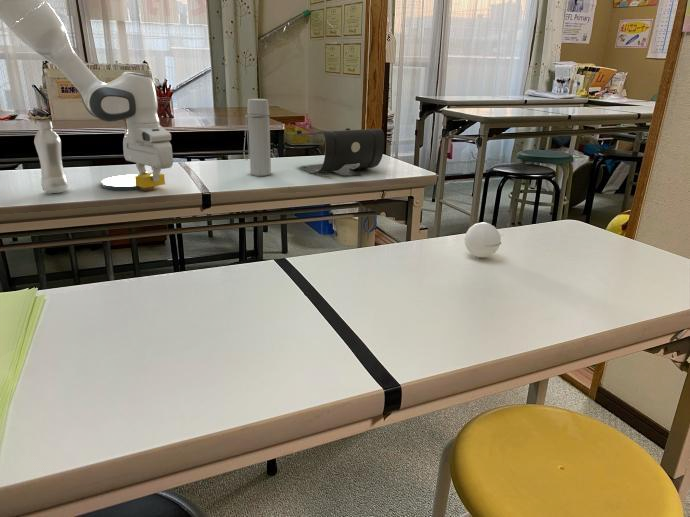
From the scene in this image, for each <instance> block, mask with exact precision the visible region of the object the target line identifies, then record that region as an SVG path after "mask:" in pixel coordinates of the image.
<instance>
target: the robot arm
mask: <svg viewBox="0 0 690 517" xmlns="http://www.w3.org/2000/svg"><path fill="white" fill-rule="evenodd" d="M0 20H1V21H2V22H3V23H4V25H6V26H7V27H8V28H9V30H10V31H11V32H12V33H13V34H14V35H15V36H16V37H17V38H18V39H19V40H20V41H22V42H23V43H24V44H25V45H26V46H27V47H28V48H30V49H31V50H32V51H34V52H35V53H37V54H38V55H40V56H42V57H43V58H44V59H46V60H48V61H49V62H50V63H51V64H53V66H55V67H56V68H57V70H59V71H60V72H61V74H62V75H63V76H64V77H65V79H67V80H68V82H69V83H70V84H71V85H72V86H73V87H74V88H75V89H76V91H77V92H78V94H79V96H80V98H81V100H82V103H83V106H84V108H85V110H86V111H87V112H88V113H89V114H90V115H91V116H92V117H94V118H96V119H99V121H103V122H106V123H115V122H118V121H122V120H126V127H127V128H126V130H125V132H124V137H123V139H122V150H123V152H122V153H123V157H124V159H125V161H126V162H130V163H135V166H136V169H137V171H138V172H139V175H141V174H148V171H147V170H146V167H145V166H147V167H151V168H150V169H151V171H152V172H151V173H152V175H151V180H152V181H154V182H156V181H159V174H160V172H161V170H165V169H171V168H172V167H173V164H174V156H173V155H174V154H173V147H172V144H171V140H172V134H171V133H170V131H168V130H167V129H165V128H164V127H163V126H162V125H161V123H160V122H161V121H160V118H159V116H158V107H159V104H158V103H159V102H158V96H157V90H156V85H155V82H154V80H153V79H152V78H151V77H150V76H149V75H147V74H143V73H139V72H132V71H124V72H123V73H122V74H121V75H120V76H118V77H117V78H115V79H113V80H111V81H109V82H104V81H102V80H101V79H99V78H98V77H97V76H96V75H95V74H94V73H93V72H92V71H91V70H90V68H89V67H88V66H87V65H86V63H85V62H84V61H83V60H82V59H81V58H80V57H79V55H78V54H77V53H76V52H75V50H74V48H73V47H72V45H71V42H70V39H69V36H68V33H67V32H68V31H67V29H66V27H65V25H64V23H63V22H62V20H61V19H60V17H59V16H58V14H57V12H55V9H53V8H52V6H51V5H50V4H49V2H48V1H47V0H0Z"/></svg>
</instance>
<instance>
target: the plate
mask: <svg viewBox="0 0 690 517" xmlns="http://www.w3.org/2000/svg"><path fill="white" fill-rule="evenodd" d="M135 175H136V174H125V175H117V176H112V177H107V178H104V179H103V180H101V187H102V188H104V189H106V190H112V191H134V190H140V188H139V186H136V184H135Z"/></svg>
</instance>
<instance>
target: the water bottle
mask: <svg viewBox="0 0 690 517" xmlns="http://www.w3.org/2000/svg"><path fill="white" fill-rule="evenodd" d="M269 106H270V105H269V100H268V99H266V98H247V110H246V111H247V112H246V114H244V118H245V124H244V125H245V126H244V127H245V128H244V135H246V138H244V139H243V140H244V141H243V150H245V146H246V142H248V143H247V155H248V157H247V158H246V155H245V153H243V158H244V161H248V160H249V172H250V174H251V175H252V176H254V177H267V176H270V175H271V173H272V163H271V162H272V161H271V160H272V159H271V127H270V126H271V125H270V124H271V122H270V115H271V113H270V108H269ZM247 129H248V130H247ZM246 139H247V141H246Z"/></svg>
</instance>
